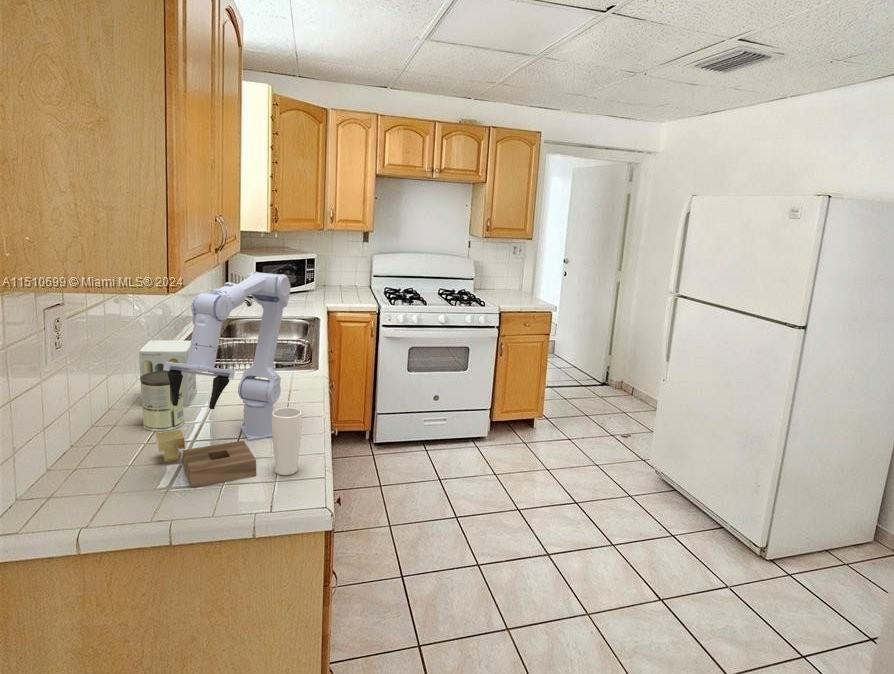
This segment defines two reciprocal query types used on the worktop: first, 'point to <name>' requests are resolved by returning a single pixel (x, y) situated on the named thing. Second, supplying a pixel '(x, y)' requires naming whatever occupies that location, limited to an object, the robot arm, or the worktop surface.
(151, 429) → the coffee can
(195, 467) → the brown wooden block
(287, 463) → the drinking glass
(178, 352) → the supplement box
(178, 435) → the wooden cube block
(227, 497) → the worktop surface
